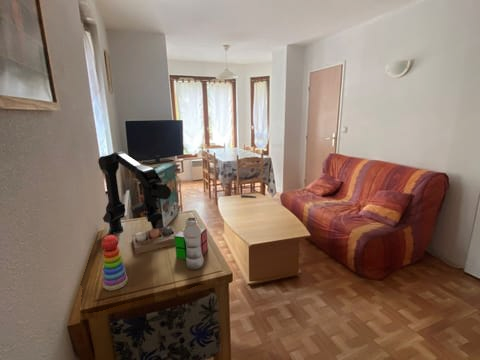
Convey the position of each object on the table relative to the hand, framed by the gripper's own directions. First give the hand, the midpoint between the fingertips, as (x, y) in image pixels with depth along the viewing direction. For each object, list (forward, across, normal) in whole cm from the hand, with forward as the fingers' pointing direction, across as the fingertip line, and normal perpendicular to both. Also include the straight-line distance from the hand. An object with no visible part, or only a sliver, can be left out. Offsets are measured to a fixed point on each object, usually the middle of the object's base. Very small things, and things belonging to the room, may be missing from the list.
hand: (153, 228), depth 118 cm
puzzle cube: (+7, +19, +12) cm, 24 cm away
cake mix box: (+7, -23, +10) cm, 26 cm away
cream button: (+5, 0, -6) cm, 8 cm away
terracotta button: (+5, 0, 0) cm, 5 cm away
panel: (+7, 0, 0) cm, 7 cm away
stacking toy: (+7, +25, -18) cm, 32 cm away
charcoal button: (+5, 0, +6) cm, 8 cm away
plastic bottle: (+7, +29, +10) cm, 32 cm away
